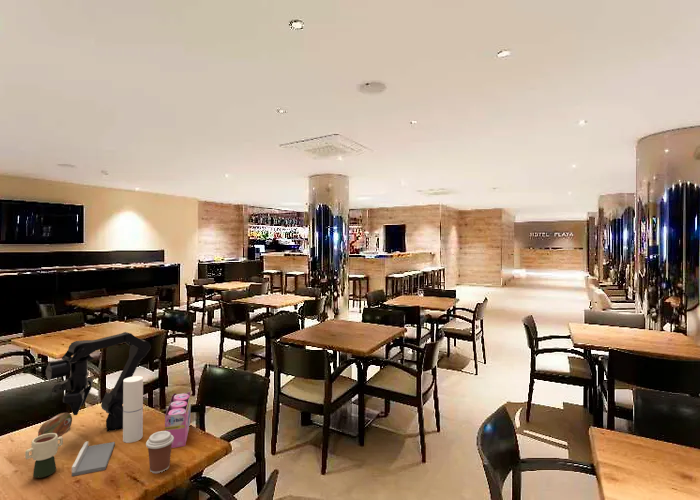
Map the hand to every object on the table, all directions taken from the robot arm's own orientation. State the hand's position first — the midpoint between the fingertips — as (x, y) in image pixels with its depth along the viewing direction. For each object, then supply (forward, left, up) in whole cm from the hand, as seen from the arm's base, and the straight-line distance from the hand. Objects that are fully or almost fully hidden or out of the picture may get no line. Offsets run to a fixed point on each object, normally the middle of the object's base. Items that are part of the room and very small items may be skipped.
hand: (78, 410), depth 151 cm
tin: (+10, -8, -13) cm, 18 cm away
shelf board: (-9, +17, -13) cm, 23 cm away
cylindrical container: (-20, +5, -13) cm, 24 cm away
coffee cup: (-32, +32, -13) cm, 47 cm away
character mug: (+5, +21, -13) cm, 25 cm away
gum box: (-38, +8, -13) cm, 41 cm away
